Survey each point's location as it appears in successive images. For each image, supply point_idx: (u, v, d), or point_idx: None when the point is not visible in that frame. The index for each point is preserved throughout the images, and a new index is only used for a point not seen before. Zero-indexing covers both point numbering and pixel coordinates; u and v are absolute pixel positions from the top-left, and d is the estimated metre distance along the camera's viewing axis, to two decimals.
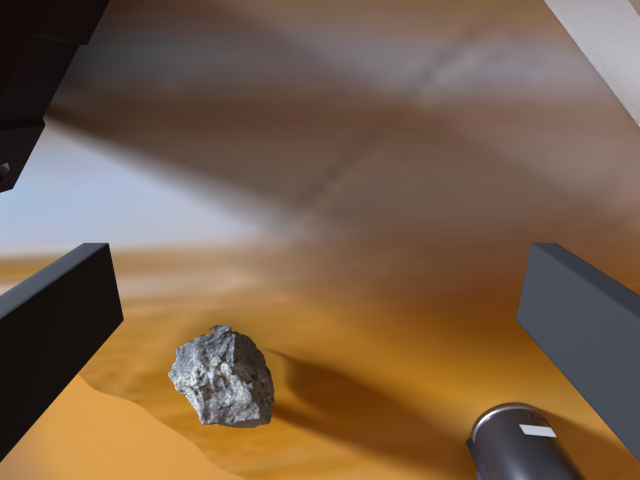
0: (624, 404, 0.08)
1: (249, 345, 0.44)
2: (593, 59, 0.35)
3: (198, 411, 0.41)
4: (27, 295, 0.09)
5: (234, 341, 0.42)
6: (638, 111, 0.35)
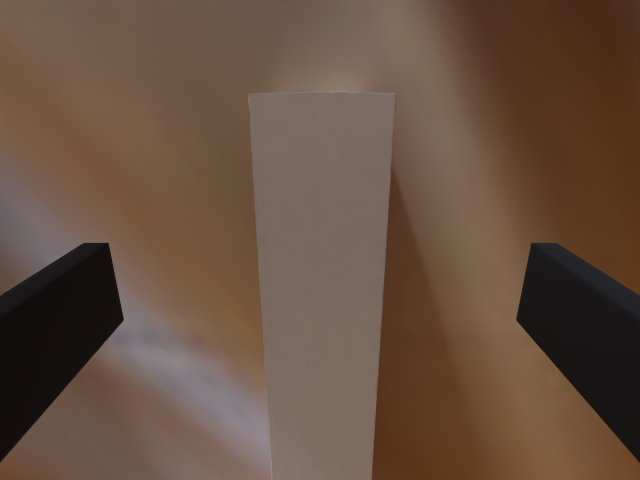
0: (624, 404, 0.08)
1: None
2: None
3: None
4: (27, 295, 0.09)
5: None
6: None
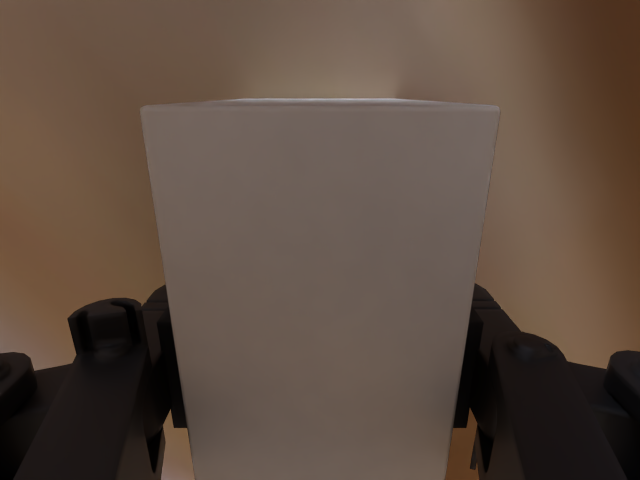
0: None
1: None
2: None
3: None
4: None
5: None
6: None
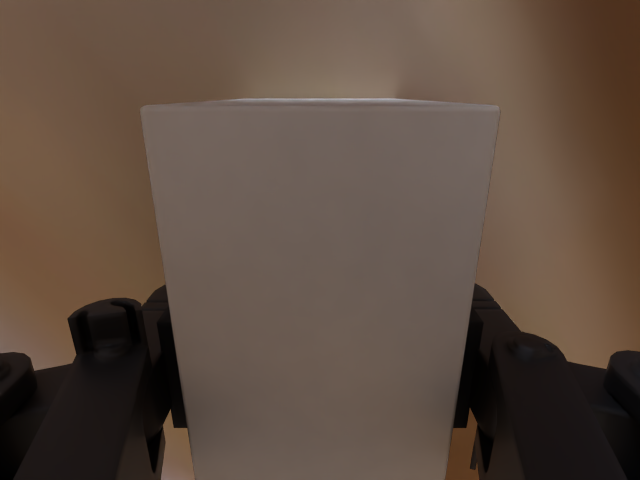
0: None
1: None
2: None
3: None
4: None
5: None
6: None
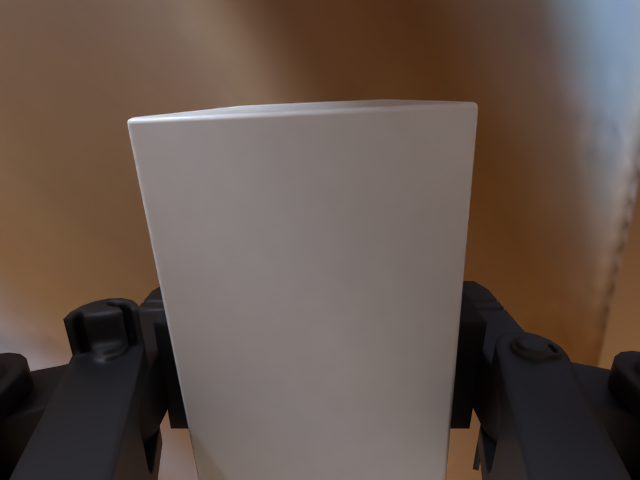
0: None
1: None
2: None
3: None
4: None
5: None
6: None
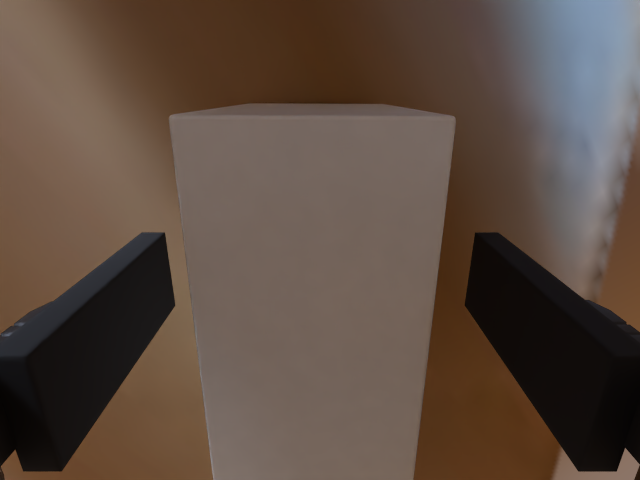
0: (536, 373, 0.09)
1: None
2: None
3: None
4: (109, 276, 0.10)
5: None
6: None
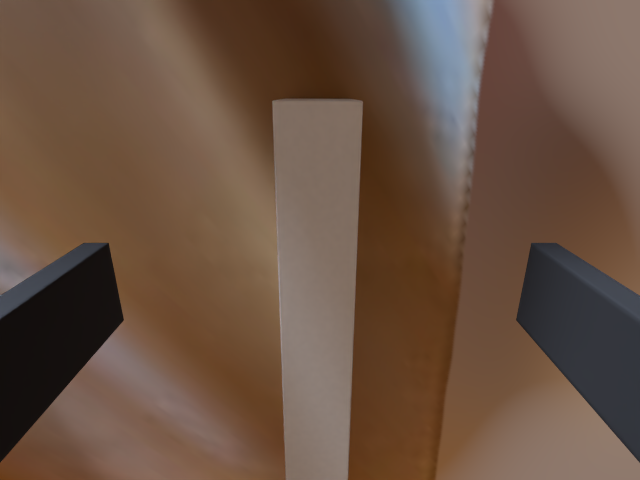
0: (624, 404, 0.08)
1: None
2: None
3: None
4: (27, 295, 0.09)
5: None
6: None
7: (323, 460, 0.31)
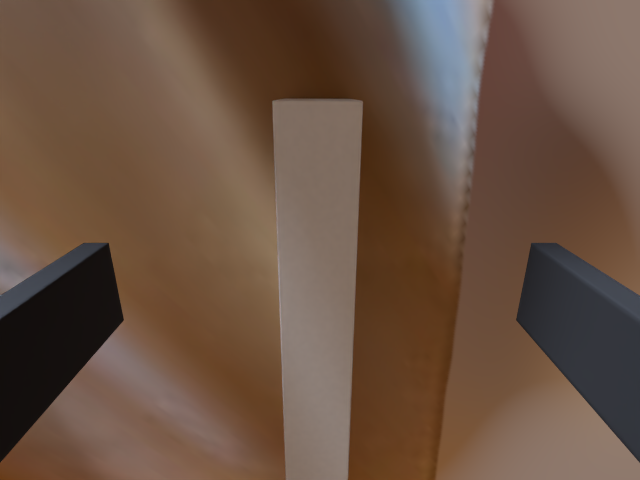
0: (625, 404, 0.08)
1: None
2: None
3: None
4: (27, 295, 0.09)
5: None
6: None
7: (323, 460, 0.31)
